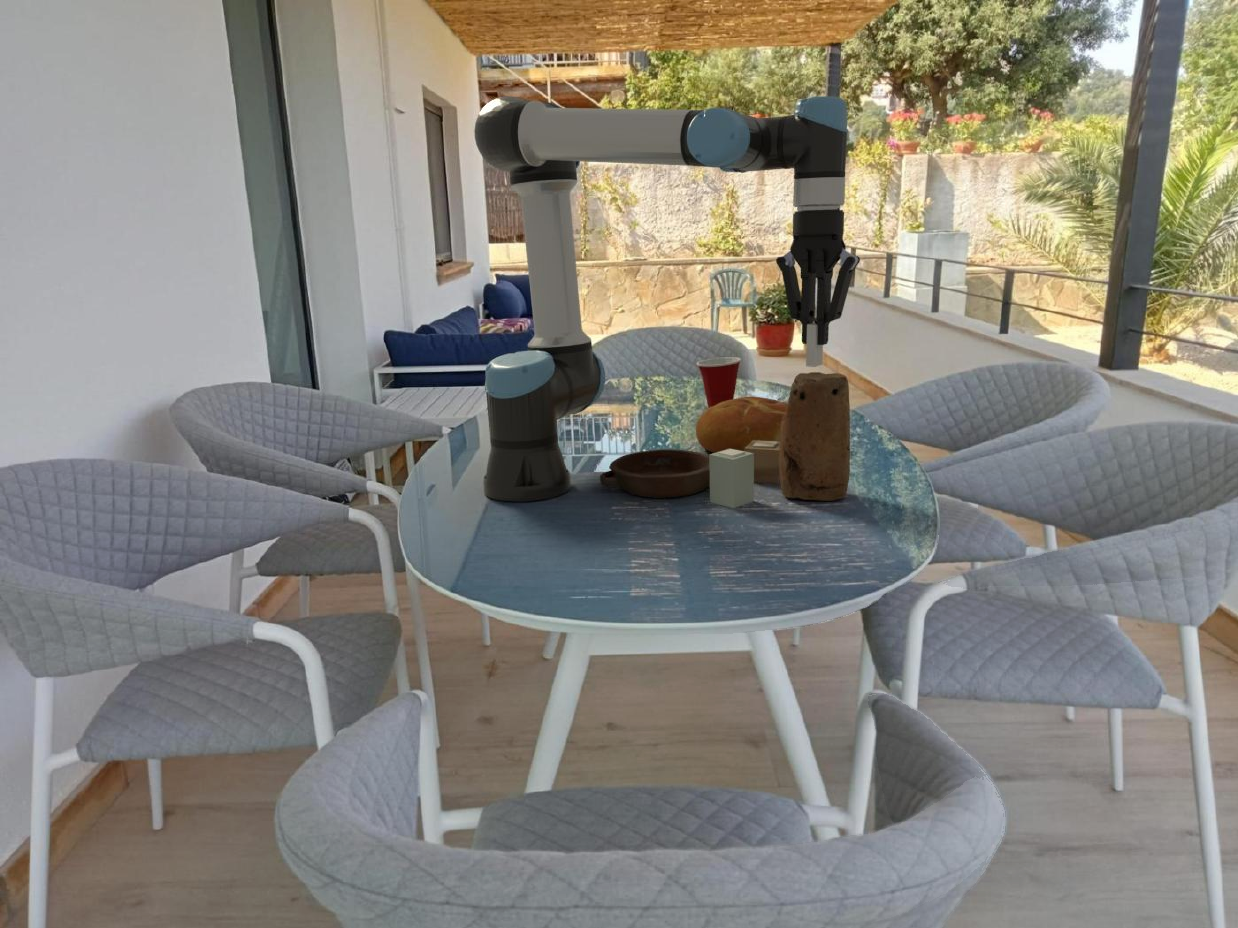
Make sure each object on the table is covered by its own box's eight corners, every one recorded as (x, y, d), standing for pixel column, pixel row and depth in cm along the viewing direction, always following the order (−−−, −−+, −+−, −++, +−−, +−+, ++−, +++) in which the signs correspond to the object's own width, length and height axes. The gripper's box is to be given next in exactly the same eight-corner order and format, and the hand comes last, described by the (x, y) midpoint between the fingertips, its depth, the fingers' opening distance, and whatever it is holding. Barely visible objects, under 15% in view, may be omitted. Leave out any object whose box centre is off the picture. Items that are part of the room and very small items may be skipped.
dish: (602, 476, 160) (601, 450, 158) (723, 473, 159) (723, 446, 158) (597, 506, 143) (596, 476, 141) (733, 502, 142) (733, 472, 141)
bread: (806, 466, 161) (807, 413, 158) (683, 460, 169) (682, 409, 166) (820, 437, 182) (821, 390, 179) (710, 433, 189) (710, 388, 187)
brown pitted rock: (844, 489, 145) (848, 370, 140) (850, 503, 138) (854, 378, 133) (778, 489, 147) (779, 371, 142) (780, 503, 140) (781, 379, 135)
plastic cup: (696, 404, 220) (695, 356, 217) (739, 403, 220) (739, 355, 217) (697, 413, 210) (696, 363, 207) (743, 411, 209) (742, 362, 206)
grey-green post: (733, 508, 138) (733, 457, 136) (710, 502, 142) (709, 452, 140) (753, 501, 141) (753, 451, 139) (730, 495, 145) (729, 446, 143)
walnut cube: (778, 484, 150) (778, 448, 149) (744, 481, 153) (744, 446, 151) (785, 474, 156) (786, 440, 154) (752, 472, 158) (752, 438, 156)
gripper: (870, 207, 130) (863, 364, 136) (790, 210, 138) (787, 359, 144) (849, 207, 124) (843, 372, 130) (767, 210, 132) (765, 365, 138)
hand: (814, 365), depth 137 cm, fingers closed
